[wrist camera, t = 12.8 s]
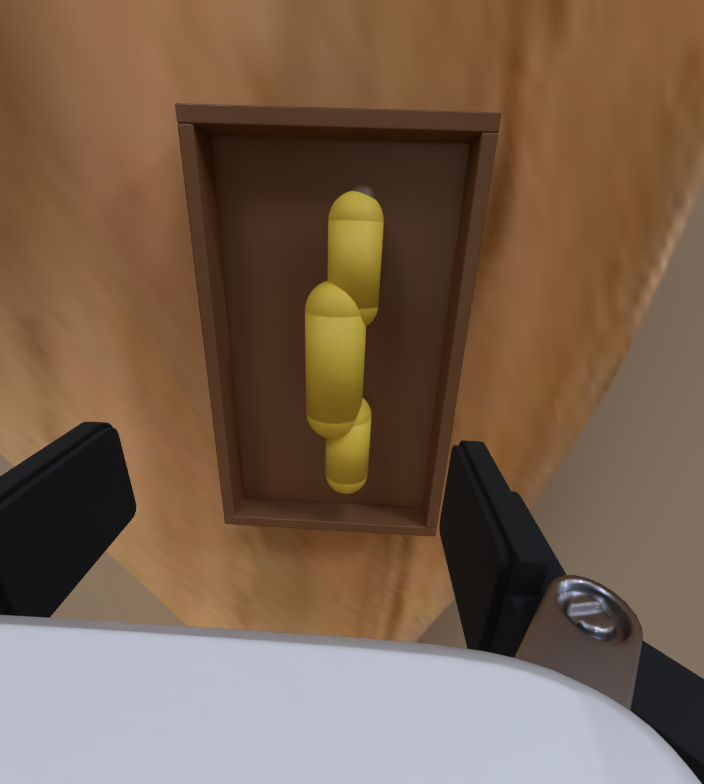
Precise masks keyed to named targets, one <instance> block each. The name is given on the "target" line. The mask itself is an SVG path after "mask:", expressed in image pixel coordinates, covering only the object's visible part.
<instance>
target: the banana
mask: <svg viewBox="0 0 704 784" xmlns="http://www.w3.org/2000/svg"><path fill="white" fill-rule="evenodd" d="M383 225H384V217H383V212H382V209H381V207H380V205H379V203H378V202H377V196H376V194H375V192H374V190H373V189H372V188H371V187H369V186H367V185H357V186H355V187H354V188H353V189H352V190H351V191H350V192H346V193H344V194H343V195H341V196H340V197H339V198H338V199H337V200H336V201H335V202H334V203H333V205H332V207H331V209H330V213H329V218H328V281H325V282H323V283H321V284H319V285H318V286H317V287H315V288H314V289H313V291H312V292H311V293H310V295H309V297H308V298H307V302H306V306H305V356H306V414H307V420H308V422H309V424H310V426H311V428H312V429H313V430H314V431H315V432H316V433H317V434H319V435H320V436H322V437H325V438H326V458H325V474H326V479H327V482H328V483H329V485H330V486H331V487H332V488H333V489H334V490H335V491H337V492H340V493H343V494H349V495H352V494H355V493H357V492H358V491H359V489H360V488H362V486H363V485H364V484H365V482H366V479H367V476H368V462H369V447H370V431H371V409H370V407H369V405H368V403H367V402H366V400H365V399H364V398H362V397H363V378H364V358H365V339H366V326H368V325H369V324H370V323H371V322H372V321H373V320H374V318H375V316H376V314H377V311H378V304H379V289H380V273H381V257H382V241H383Z"/></svg>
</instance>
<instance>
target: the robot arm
mask: <svg viewBox="0 0 704 784" xmlns="http://www.w3.org/2000/svg"><path fill="white" fill-rule="evenodd" d="M135 512H136V502H135V498H134V494H133V490H132V486H131V482H130V478H129V474H128V470H127V466H126V462H125V458H124V454H123V450H122V446H121V442H120V438H119V434H118V432H117V430H116V429H114V428H113V427H112V426H111V425H110V424H109V423H103V422H83V423H81V424H80V425H78V426H77V427H75V428H74V429H72V430H70V431H69V432H67V433H66V434H64V435H63V436H61V437H60V438H58V439H57V440H55V441H54V442H52V443H51V444H49V445H48V446H46V447H44V448H43V449H41V450H40V451H38V452H37V453H35V454H34V455H32V456H31V457H29V458H28V459H26V460H25V461H23V462H22V463H20V464H18V465H17V466H15V467H14V468H12V469H11V470H9V471H8V472H6V473H5V474H3V475H2V476H0V784H704V679H703V678H701V677H699V676H697V675H696V674H695V673H693V672H692V671H690V670H688V669H687V668H685V667H684V666H682V665H680V664H679V663H677V662H676V661H674V660H672V659H671V658H669V657H668V656H666V655H665V654H663V653H662V652H660V651H658V650H657V649H655V648H654V647H652V646H650V645H649V644H647V643H646V642H644V641H643V634H642V627H641V624H640V622H639V620H638V618H637V616H636V614H635V613H634V612H633V611H632V609H631V608H630V607H629V605H628V604H627V603H626V602H625V601H624V600H622V599H621V598H620V597H619V596H618V595H617V594H616V593H614V592H613V591H611V590H610V589H608V588H607V587H605V586H603V585H602V584H600V583H598V582H595V581H593V580H591V579H588V578H585V577H580V576H576V575H566V573H565V571H564V570H563V568H562V566H561V565H560V563H559V561H558V559H557V558H556V556H555V554H554V553H553V551H552V549H551V548H550V546H549V544H548V542H547V541H546V539H545V537H544V536H543V534H542V532H541V531H540V529H539V527H538V525H537V524H536V522H535V520H534V519H533V517H532V515H531V513H530V512H529V510H528V508H527V506H526V505H525V503H524V501H523V500H522V498H521V497H520V495H519V494H518V493H516V492H513V491H511V490H510V489H509V487H508V485H507V483H506V481H505V480H504V478H503V476H502V474H501V472H500V471H499V469H498V467H497V465H496V464H495V462H494V460H493V458H492V456H491V455H490V453H489V451H488V449H487V447H486V446H485V444H484V443H483V442H479V441H461V442H460V444H459V446H455V445H454V446H453V448H452V452H451V458H450V464H449V470H448V476H447V482H446V488H445V494H444V500H443V506H442V512H441V518H440V536H441V540H442V544H443V549H444V553H445V557H446V561H447V565H448V569H449V574H450V578H451V582H452V586H453V590H454V594H455V598H456V603H457V606H458V611H459V615H460V619H461V623H462V628H463V632H464V635H465V640H466V644H467V648H468V649H466V648H458V647H451V646H444V645H434V644H422V643H411V642H400V641H388V640H377V639H365V638H352V637H338V636H324V635H309V634H295V633H281V632H267V631H252V630H238V629H223V628H207V627H192V626H176V625H161V624H145V623H144V624H143V623H128V622H113V621H96V620H80V619H63V618H50V617H51V615H52V614H53V613H54V612H55V611H56V609H57V608H58V607H59V606H60V604H61V603H62V602H63V601H64V600H65V599H66V597H67V596H68V595H69V594H70V593H71V591H72V590H73V589H74V588H75V586H76V585H77V584H78V583H79V582H80V581H81V579H82V578H83V577H84V576H85V575H86V573H87V572H88V571H89V570H90V569H91V567H92V566H93V565H94V564H95V563H96V561H97V560H98V559H99V558H100V557H101V555H102V554H103V553H104V552H105V551H106V549H107V548H108V547H109V546H110V545H111V543H112V542H113V541H114V540H115V539H116V537H117V536H118V535H119V534H120V533H121V531H122V530H123V529H124V528H125V527H126V525H127V524H128V523H129V522H130V521H131V519H132V518H133V517H134V515H135Z"/></svg>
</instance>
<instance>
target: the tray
mask: <svg viewBox="0 0 704 784" xmlns="http://www.w3.org/2000/svg"><path fill="white" fill-rule="evenodd" d="M175 107H176V115H177V122H178V123H179V124H178V131H179V139H180V148H181V156H182V165H183V173H184V181H185V190H186V198H187V207H188V215H189V224H190V232H191V240H192V249H193V257H194V266H195V274H196V282H197V291H198V299H199V308H200V316H201V325H202V333H203V341H204V350H205V358H206V367H207V375H208V383H209V392H210V400H211V409H212V417H213V425H214V434H215V442H216V451H217V459H218V468H219V476H220V484H221V493H222V501H223V510H224V518H225V524H236V525H253V526H269V527H286V528H303V529H320V530H336V531H353V532H370V533H386V534H403V535H420V536H435V535H436V529H437V528H436V527H437V523H438V516H439V510H440V503H441V497H442V491H443V484H444V478H445V471H446V465H447V459H448V452H449V446H450V439H451V433H452V426H453V420H454V414H455V407H456V401H457V394H458V388H459V381H460V375H461V369H462V362H463V356H464V349H465V343H466V337H467V330H468V324H469V317H470V311H471V304H472V298H473V292H474V285H475V279H476V272H477V266H478V259H479V253H480V247H481V240H482V234H483V227H484V221H485V215H486V208H487V202H488V195H489V189H490V182H491V176H492V170H493V163H494V157H495V150H496V144H497V137H498V134H497V133H498V131H499V125H500V119H501V113H498V112H463V111H428V110H393V109H358V108H323V107H288V106H253V105H218V104H182V103H176V104H175ZM357 185H367V186H369V187H371V188H372V189H373V190H374V192H375V194H376V196H377V202H378V203H379V205H380V207H381V209H382V212H383V217H384V225H383V241H382V257H381V273H380V289H379V304H378V311H377V314H376V316H375V318H374V320H373V321H372V322H371V323H370V324H369V325H368V326H366V339H365V358H364V378H363V397H362V398H364V399H365V400H366V402H367V403H368V405H369V407H370V409H371V431H370V447H369V462H368V476H367V479H366V482H365V484H364V485H363V486H362V488H360V489H359V491H358V492H357V493H355V494H352V495H349V494H343V493H340V492H337V491H335V490H334V489H333V488H332V487H331V486H330V485H329V483H328V482H327V479H326V474H325V458H326V438H325V437H322V436H320V435H319V434H317V433H316V432H315V431H314V430H313V429H312V428H311V426H310V424H309V422H308V420H307V414H306V356H305V306H306V302H307V298H308V297H309V295H310V293H311V292H312V291H313V289H314V288H315V287H317V286H318V285H319V284H321V283H323V282H325V281H328V218H329V213H330V209H331V207H332V205H333V203H334V202H335V201H336V200H337V199H338V198H339V197H340V196H341V195H343V194H344V193H346V192H350V191H351V190H352V189H353V188H354V187H355V186H357Z"/></svg>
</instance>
